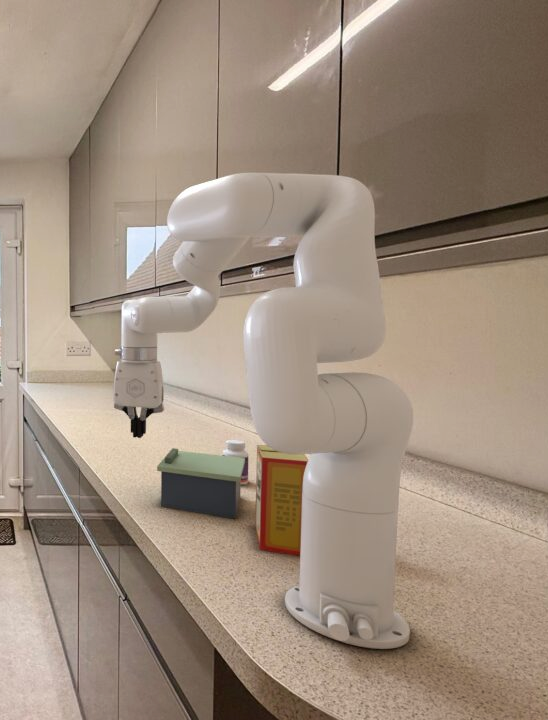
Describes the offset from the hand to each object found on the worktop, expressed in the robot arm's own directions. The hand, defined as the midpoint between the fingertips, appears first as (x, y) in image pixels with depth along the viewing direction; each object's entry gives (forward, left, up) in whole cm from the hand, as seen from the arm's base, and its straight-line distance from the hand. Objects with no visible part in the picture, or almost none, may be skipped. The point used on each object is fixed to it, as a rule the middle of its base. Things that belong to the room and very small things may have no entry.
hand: (138, 436), depth 111 cm
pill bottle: (+18, -18, -13) cm, 29 cm away
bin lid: (0, -13, -5) cm, 14 cm away
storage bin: (0, -13, -13) cm, 18 cm away
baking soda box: (-14, -27, -13) cm, 33 cm away
